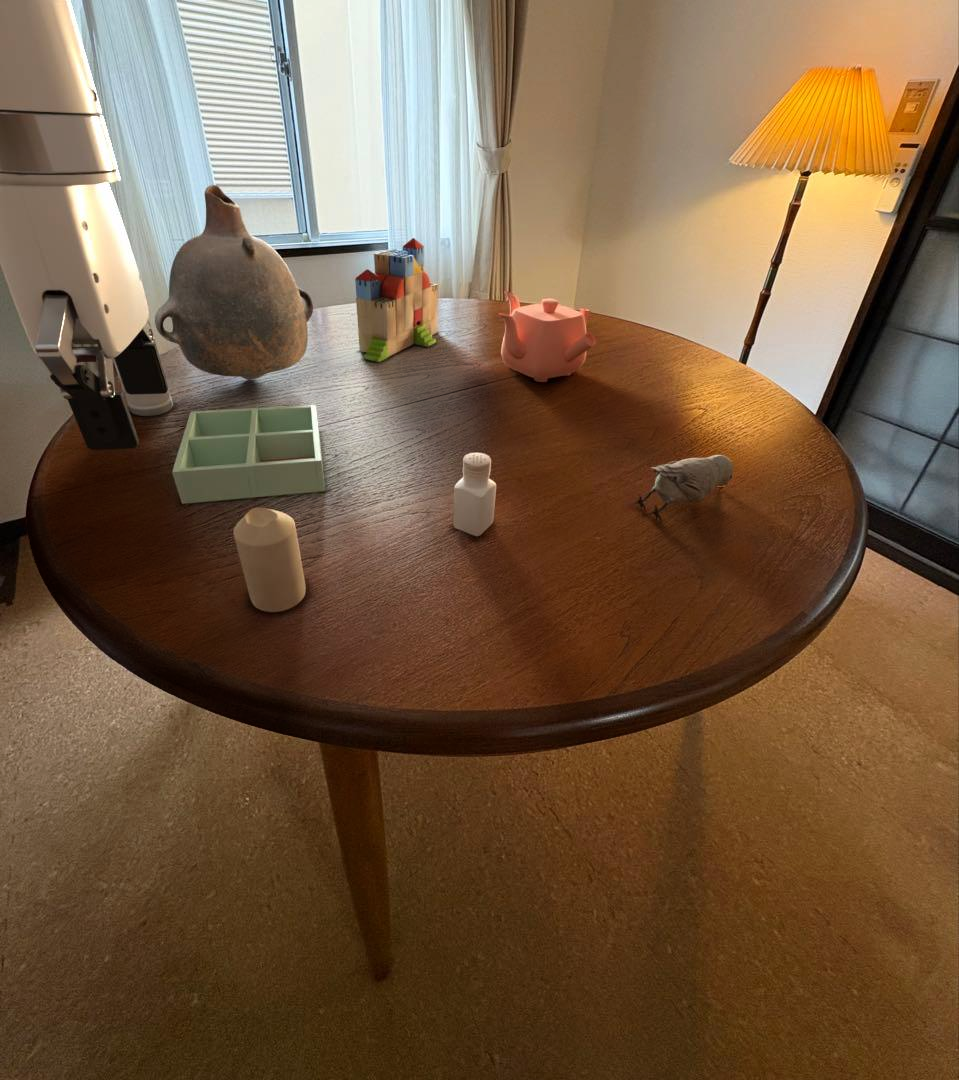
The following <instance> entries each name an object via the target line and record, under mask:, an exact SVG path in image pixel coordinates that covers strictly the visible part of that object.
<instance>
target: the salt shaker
mask: <svg viewBox="0 0 959 1080" xmlns="http://www.w3.org/2000/svg"><path fill="white" fill-rule="evenodd" d="M491 468H492V459H491V457H490V455H488V454H486V453H484V452H483V453H482V452H469V453H467V454H465V455H464V457H463V458H462V475H463V476H462V478H460V479H459V480H458V481H457V483H456V484H455V485H454V488H453V490H454V491H453V510H452V511H453V512H452V525H453V527H454V529H457V530H459V531H462V532H464V533H466V534H468V535H471V536H474V537H479V536H481V535H483V533H484V532H485V531H487V529H488V528H489V527H490V526H492V524H493V523H494V518H495V517H494V515H495V504H496V495H497V494H496V493H497V484H496V482H495V481H494V480H493V479H491V478H490V476H491V470H492V469H491Z"/></svg>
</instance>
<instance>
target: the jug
mask: <svg viewBox="0 0 959 1080" xmlns="http://www.w3.org/2000/svg"><path fill="white" fill-rule="evenodd" d="M204 190H205V191H204V202H205V226H204V229H203V231H202V233H201V234H198V235H195V236H193V237H191V238H190V239H188V240H186V242H185V243H183V244H182V245H181V246H180V248H179V249H178V251H177V252H176V254H175V256H174V259H173V261H172V264H171V268H170V272H169V273H170V274H169V281H168V282H169V283H168V298H167V300H166V301H165V303H163V305H161V306H160V307H159V308H158V310H157V311H156V313H155V316H154V325H155V328H156V331H157V332H158V334H159V335H160V336H161V337H162V338H164V339H165V340H167V341H169V342H170V343H173V344H177V345H178V346H179V348H180V351H181V352H182V355H183V357H184V358H185V359H186V360H187V362H188V363H189V364H190V365H192V366H193V367H194V368H197V369H198V370H200V371H201V372H205V373H208V374H211V375H216V376H223V377H233V378H235V377H237V378H239V377H241V378H243V379H245V380H248V381H251V380H252V381H253V380H256V379H259V378H261V377H263V376H265V375H266V374H270V373H274V372H278V371H279V372H280V371H283V370H285V369H289V368H291V367H293V366H294V365H296V364H297V363H300V361H301V360H302V358H303V357H304V355H305V353H306V351H307V348H308V347H307V346H308V339H309V338H308V337H309V333H308V322H309V320H310V319H311V318H312V315H313V312H314V311H313V310H314V306H313V305H314V304H313V301H312V297H311V296H310V295H309V293H307V291H305V290H304V289H302V288H300V287H298V285H297V283H296V281H295V278H294V276H293V274H292V272H291V270H290V269H289V267H288V265H287V263H286V262H285V261H284V259H283V258H282V256H281V255H280V253H278V252H277V250H276V249H275V248H274V247H272V246H271V244H269V243H267V241H264V240H263V239H261V238H259V237H256V236H254V235H252V234H251V233H250V232H249V230H248V229H247V227H246V224H245V222H244V219H243V215H242V212H241V209H240V206H239V204H238V203H237V202H236V201H234V200H233V198H230V197H229V196H228V195H226V194H225V193H224V191H223V190H222V189H221V188H220V186H218V185H216V184H211V185H209V186H207V187H206V188H205V189H204ZM302 299H303V300H302ZM303 301H304V304H303ZM304 305H305V306H304ZM304 307H305V308H304ZM167 318H171V322H172V323H171V324H172V331H171V332H170V331H167V330H166V329H165V327H164V322H165V320H166V319H167Z"/></svg>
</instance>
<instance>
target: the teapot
mask: <svg viewBox="0 0 959 1080" xmlns="http://www.w3.org/2000/svg"><path fill="white" fill-rule="evenodd" d="M504 294H505V296H506V297H507V299H508V302H509V314H508V313H500V312H499V313H498V316H500V317H501V318H502V320H503V322H504V335H503V339H502V344H501V349H500V350H501V351H500V354H501V358H502V361H503V363H504V365H505V366H507V367H508V368H509V369H510V368H511V369H512V370H513V371H515V372H518V373H521V375H522V374H523V375H525V376H527V377H529V378H532V379H534V381H535V382H539V383H546V382H548V380H549V379H551V378H558V377H568V376H570V375H571V374H572V373H574V372H577V371H578V370H580V368H581V367H582V366H583V365H584V363H585V361H586V358H587V351H589V350H590V349H592V348H593V347H594V346H595V345H596V344H597V338H596V337H595V335H594V334H593V333H592V332H587V324H588V321H589V317H590V316H591V313H592V310H591V309H588V308H581V307H580V308H579V310H576V309H574V308H571V307H567V306H565V305H561V304H559V303H560V301H559V300H557V299H554V298H543V299H541V303H533V304H528V305H523V306H521V304H520V302H519V299H518V296H517V295H515V293H513V292H511V291H508V290H504ZM576 370H577V371H576Z"/></svg>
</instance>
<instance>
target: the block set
mask: <svg viewBox="0 0 959 1080" xmlns="http://www.w3.org/2000/svg"><path fill="white" fill-rule="evenodd" d="M373 263H374V264H373V265H374V272H372V270H370V269H369V268H366V269H365V270H363V271H362V272H361V273H360V274H359V275H357V276H356V277H355V280H354V281H355V282H354V283H355V295H356V296H355V302H356V304H355V305H356V317H357V333H358V347H359V351H360V352H364V353H365V354H364V355H363V357H364V360H367V361H372V362H376V363H380V362H382V361H385V360H386V359H388V358H389V357H392V356H393V355H395V354H397V353H399V352H401V351H402V350H405V349H406V348H408V347H411V346H413V345H417V346H422V347H426V348H428V347H430V346H432V345H435V344H436V342H437V341H436V338H433V335H435V334H437V333H438V306H439V284H438V283H433V282H431V280H430V277H429V275H428V273H427V272H425V246H424V245H423V244H422V243H420V241H418V240H417V239H416V238H414V237H412V238H411V239H410V240H409V241H407V242H406V243H405V244H403V246H402V249H397V248H396V249H395V248H391V249H388V250H385V251H383V250H382V251H379V252H374V253H373Z"/></svg>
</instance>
